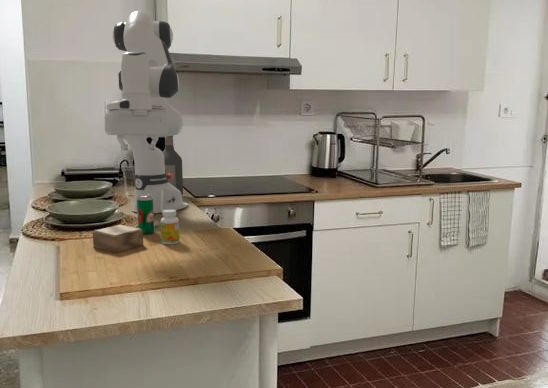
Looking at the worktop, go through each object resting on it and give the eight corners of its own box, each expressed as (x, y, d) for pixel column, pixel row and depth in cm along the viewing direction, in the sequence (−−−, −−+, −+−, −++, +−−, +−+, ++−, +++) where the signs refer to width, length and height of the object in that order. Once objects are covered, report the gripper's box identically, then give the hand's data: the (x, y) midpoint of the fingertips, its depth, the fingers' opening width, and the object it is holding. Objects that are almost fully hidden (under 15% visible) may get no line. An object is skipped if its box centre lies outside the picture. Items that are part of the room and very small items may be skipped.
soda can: (150, 235, 176) (148, 197, 174) (135, 234, 177) (133, 197, 175) (156, 231, 181) (155, 194, 179) (142, 230, 182) (140, 194, 180)
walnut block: (121, 240, 169) (120, 224, 168) (143, 245, 164) (142, 228, 163) (93, 247, 161) (92, 230, 160) (116, 252, 156) (115, 235, 155)
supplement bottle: (157, 243, 165) (156, 211, 164) (167, 239, 170) (166, 208, 169) (173, 245, 164) (172, 213, 162) (182, 241, 169) (181, 209, 167)
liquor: (173, 198, 238) (171, 128, 233) (156, 197, 242) (153, 128, 237) (185, 195, 247) (183, 127, 241) (168, 194, 250) (166, 127, 245)
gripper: (160, 106, 179) (162, 149, 181) (101, 104, 166) (103, 150, 167) (171, 105, 175) (173, 149, 176) (111, 102, 161) (113, 150, 162)
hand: (138, 150), depth 171 cm, fingers open, 8 cm apart
